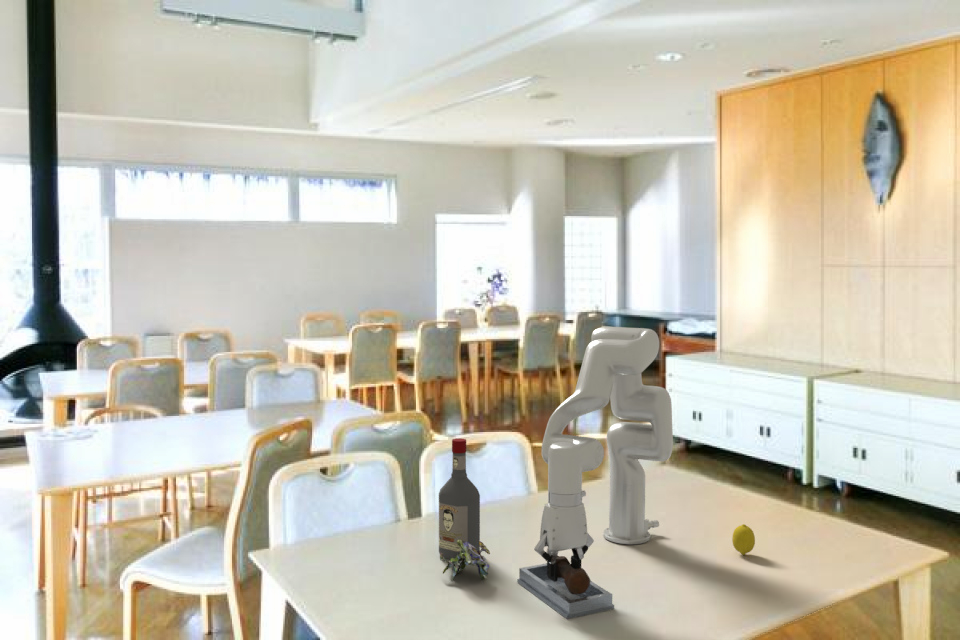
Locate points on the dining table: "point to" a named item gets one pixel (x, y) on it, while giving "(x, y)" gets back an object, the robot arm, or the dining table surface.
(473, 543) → the liquor
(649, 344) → the robot arm
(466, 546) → the passion flower
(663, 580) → the dining table surface
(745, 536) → the lemon
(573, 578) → the bolt
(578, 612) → the tray
